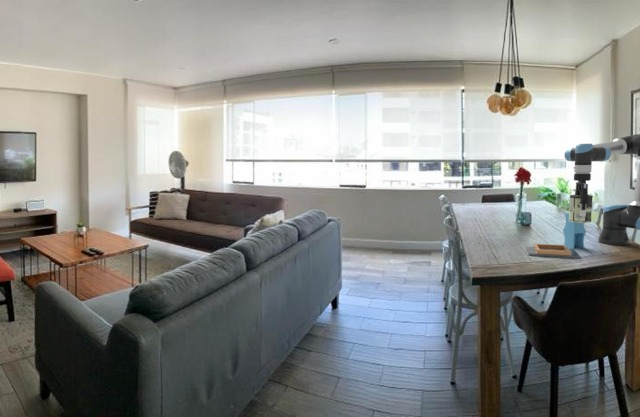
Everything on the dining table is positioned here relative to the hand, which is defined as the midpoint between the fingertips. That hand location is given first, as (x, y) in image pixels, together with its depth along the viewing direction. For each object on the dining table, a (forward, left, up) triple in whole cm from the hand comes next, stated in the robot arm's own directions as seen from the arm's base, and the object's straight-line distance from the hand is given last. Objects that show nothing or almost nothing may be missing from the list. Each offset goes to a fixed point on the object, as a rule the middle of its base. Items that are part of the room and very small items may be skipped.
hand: (580, 214), depth 213 cm
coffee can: (0, 0, -4) cm, 4 cm away
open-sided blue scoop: (-1, -19, -22) cm, 30 cm away
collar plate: (+13, 0, -22) cm, 25 cm away
